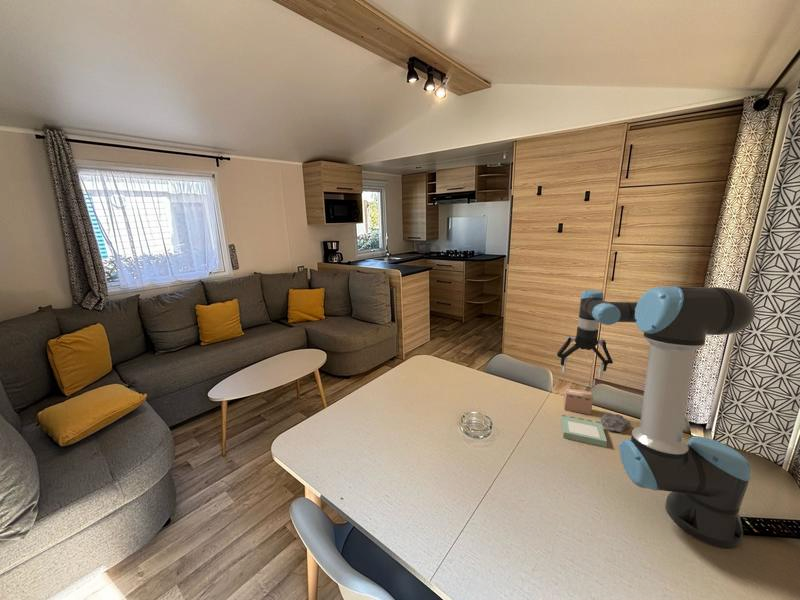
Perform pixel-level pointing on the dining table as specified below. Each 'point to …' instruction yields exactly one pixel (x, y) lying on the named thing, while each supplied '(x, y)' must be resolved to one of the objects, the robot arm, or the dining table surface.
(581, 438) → the green picture frame
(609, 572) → the dining table surface
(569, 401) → the pinkish brown box
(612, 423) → the rock
